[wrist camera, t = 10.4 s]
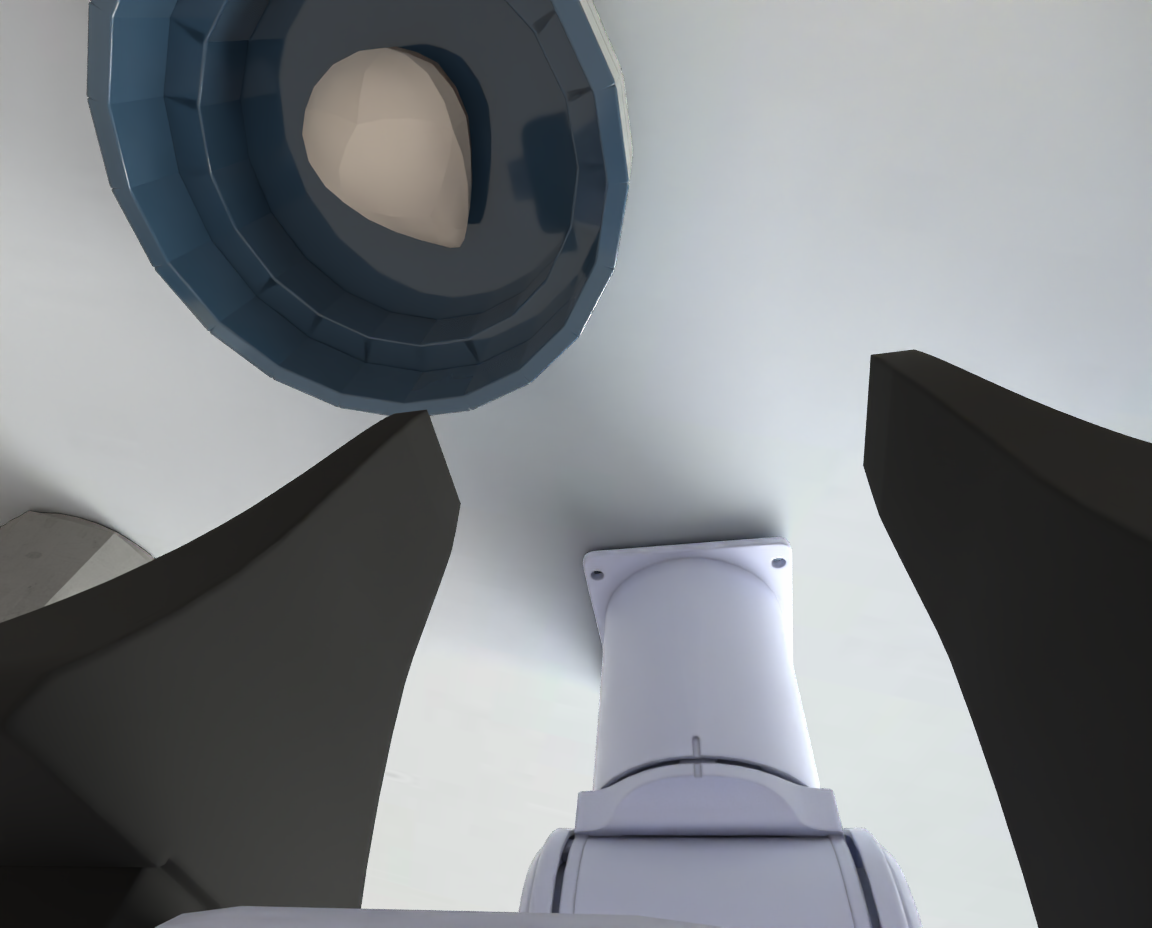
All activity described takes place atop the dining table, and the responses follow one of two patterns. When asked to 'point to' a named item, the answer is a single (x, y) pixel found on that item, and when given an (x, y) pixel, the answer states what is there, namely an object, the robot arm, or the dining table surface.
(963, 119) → the dining table surface
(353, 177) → the beige pebble
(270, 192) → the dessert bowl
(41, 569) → the coffeepot
